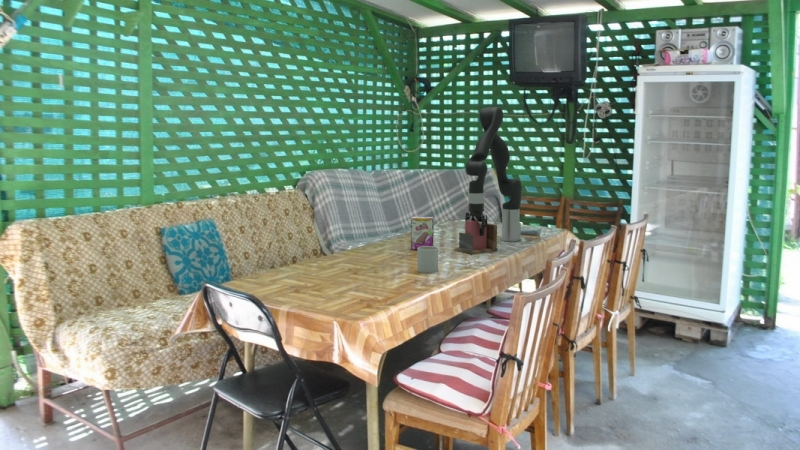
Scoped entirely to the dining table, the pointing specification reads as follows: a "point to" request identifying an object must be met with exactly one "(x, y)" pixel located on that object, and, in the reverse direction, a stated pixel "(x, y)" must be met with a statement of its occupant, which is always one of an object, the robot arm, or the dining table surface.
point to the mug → (427, 259)
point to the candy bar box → (422, 232)
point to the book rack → (467, 242)
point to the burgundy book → (476, 234)
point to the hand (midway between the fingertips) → (476, 234)
